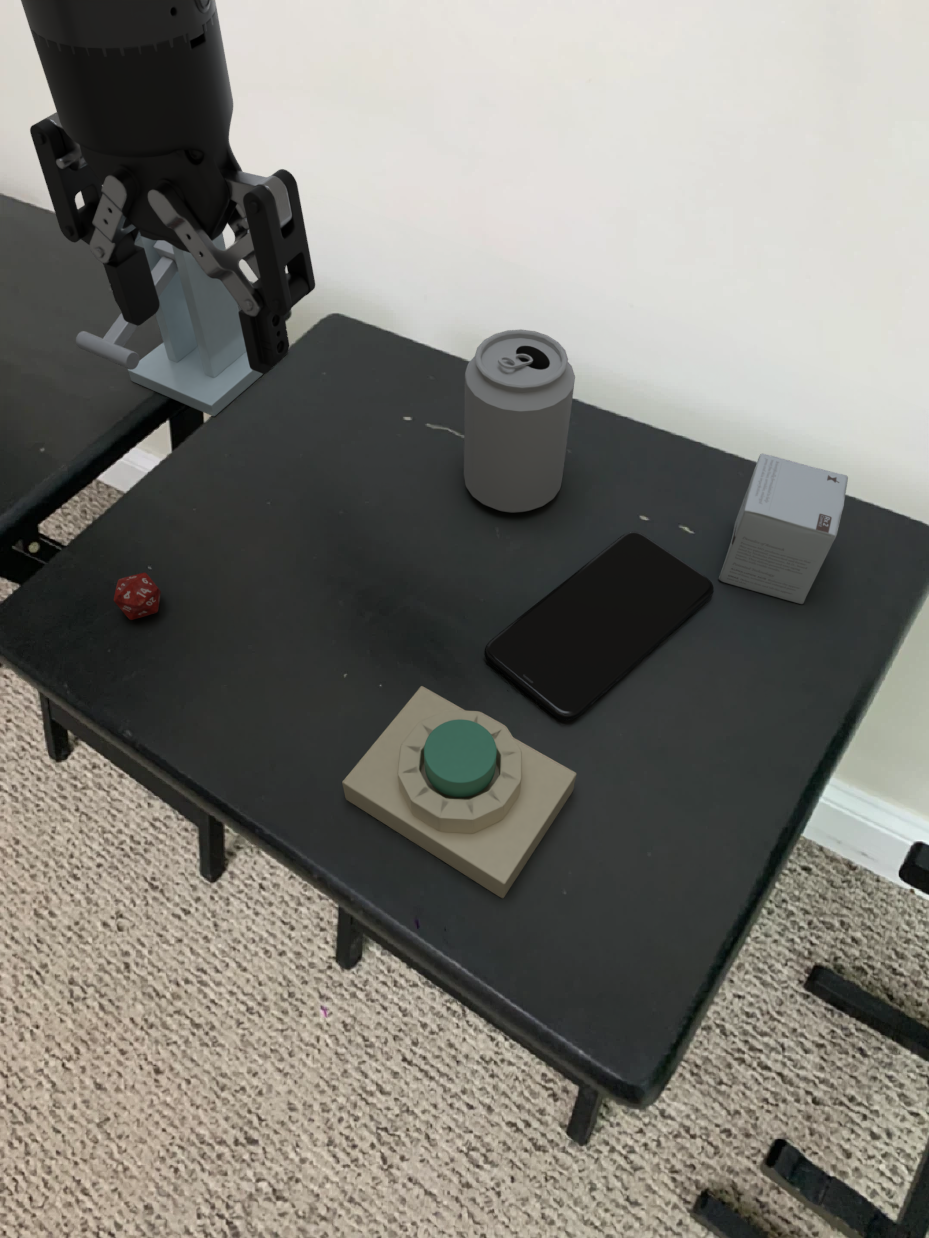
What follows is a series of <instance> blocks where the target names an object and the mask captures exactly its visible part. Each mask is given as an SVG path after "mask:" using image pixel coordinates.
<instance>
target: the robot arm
mask: <svg viewBox="0 0 929 1238" xmlns="http://www.w3.org/2000/svg"><path fill="white" fill-rule="evenodd" d="M20 2H21V5H22V8H23V12H24V14H25V18H26V21H27V25H28V28H29V30H30V33H31V37H32V40H33V42H34V46H35V49H36V52H37V55H38V57H39V61H40V63H41V67H42V71H43V73H44V76H45V79H46V82H47V85H48V89H49V92H50V96H51V98H52V101H53V104H54V105H53V106H54V107H55V108H54V109H55V110H56V111H55V112H54V113H52V114H50V115H49V116H47V117H45V118H43V119H41V120H40V121H37V122H36V123H34V124H32V125H31V126H30V128H29V132H30V137H31V139H32V144H33V146H34V150H35V152H36V156H37V159H38V162H39V165H40V169H41V171H42V175H43V178H44V181H45V184H46V188H47V192H48V194H49V197H50V201H51V204H52V207H53V211H54V214H55V217H56V220H57V223H58V226H59V229H60V232H61V234H62V235H63V236H64V237H65V238H66V239H67V240H68V241H70V242H71V243H78V242H79V241H80V240H81V241H82V242H84V243H85V244H87V245H89V250H90V252H91V254H92V255H93V257H94V258H95V259H96V260H97V261H98V262H99V263H102V265H103V268H104V271H105V273H106V277H107V280H108V283H109V287H110V289H111V291H112V295H113V299H114V301H115V303H116V304H117V306H118V308H119V309H120V312H121V313H122V315H123V318H124V320H125V321H126V322H129V323H131V324H134V325H137V326H138V327H139V326H141V325H143V324H144V323H146V322H147V320H149V319H150V318H152V317H153V316H154V315H155V313H156V312H157V311H158V309H159V306H160V302H159V298H158V295H157V291H156V288H155V284H154V281H153V277H152V274H151V270H150V267H149V263H148V260H147V256H146V253H145V249H144V248H143V247H140V246H137V245H135V243H136V242H137V241H139V239H140V237H141V236H142V237H145V238H148V239H151V240H163V241H166V242H168V243H170V244H171V245H173V246H174V247H176V248H178V249H180V250H183V251H186V252H189V253H191V254H192V256H193V257H194V258H195V260H196V261H197V263H198V264H199V265H200V267H201V268H202V269H203V271H204V272H205V273H206V275H207V276H209V277H210V278H213V279H219V280H221V281H222V283H223V284H224V286H225V287H226V288H227V290H228V291H229V292H230V294H231V295H232V297H233V298H234V299H235V301H236V302H237V304H238V307H239V308H240V310H239V312H238V314H239V318H240V323H241V328H242V333H243V338H244V342H245V347H246V352H247V357H248V362H249V366H250V368H251V369H252V370H254V371H257V372H260V373H262V374H263V375H265V374H267V373H269V371H270V370H272V369H273V368H274V367H275V366H276V365H277V364H278V363H280V361H281V360H282V359H283V358H284V357H285V356H286V355H287V354H288V353H289V348H290V340H289V336H288V335H289V333H288V330H287V329H288V328H287V323H286V317H285V315H287V314H288V313H289V312H290V311H291V310H292V309H293V307H294V306H296V305H297V304H298V303H299V302H300V301H301V300H302V299H303V298H305V297H306V296H308V295H309V294H310V293H312V292H313V291H314V290H315V288H316V280H315V274H314V269H313V263H312V257H311V253H310V246H309V241H308V235H307V230H306V224H305V219H304V215H303V214H304V213H303V208H302V203H301V198H300V192H299V185H298V183H297V180H296V178H295V177H294V175H293V174H292V172H290V171H288V170H287V169H283V168H280V169H278V170H276V171H274V173H272V174H271V175H268V176H262V175H258V174H253V173H249V172H245V171H243V169H242V167H241V165H240V164H239V162H238V160H237V158H236V156H235V154H234V152H233V150H232V147H231V144H230V129H231V125H232V123H231V122H232V118H233V113H234V99H233V91H232V86H231V81H230V75H229V69H228V65H227V58H226V52H225V47H224V42H223V41H224V40H223V35H222V30H221V25H220V18H219V13H218V8H217V2H216V0H20ZM79 193H81V198H82V202H83V205H82V206H81V207H79V208H78V205H77V202H76V197H77V195H78V194H79ZM227 225H228V227H229V228H230V229H231V231H232V232H233V235H234V241H233V242H232V243H231V244H230V245H229V246H228V247H226V250H224V251H223V250H220V249H218V248H217V247H216V246H215V245H214V244H213V242H212V241H213V240H214V239H215V238H217V237H218V236H219V235H221V233H222V232H224V231H225V229H226V228H227ZM241 261H244V262H245V263H246V264H247V265H248V267H249V269H250V270H251V271H252V273H253V275H254V276H255V277H256V278H257V279H256V280H255V281H254V282H253V283H251V281H250V280H249V279H248V277H247V275H245V273H244V271H243V269H241V266H240V262H241ZM286 270H287V272H286ZM285 354H286V355H285ZM284 355H285V356H284Z"/></svg>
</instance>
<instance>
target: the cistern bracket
mask: <svg viewBox="0 0 929 1238" xmlns="http://www.w3.org/2000/svg"><path fill="white" fill-rule="evenodd" d="M223 232H224V231H223ZM223 232H222V233H221V235H219V236H218V237H217V238H215V239H214V240H213V241H212V242H213V244H214V245H215V246H216V247H217V248H218V249H220V250H223V251H224V250H226V249H227V247H226V243H225V242H226V241H225V238H224V233H223ZM157 241H158V240H151V239H148V238H145V237H142V236H141V237H140V239H139V241H137V242H136V243H135V245H137V246H140V247H143V248H144V249H145V253H146V256H147V260H148V263H149V267H150V270H151V271H152V270H153V269H154V267H155V266H156V265H157V263H158V262H159V260H160V259H161V258H160V256H159V255H158V253H157V252H156V250H155V249H154V247H153V246H154V245H155V243H156V242H157ZM172 248H173V252H174V256H175V260H176V264H177V267H178V271H179V272H176V274H175V275H174V276H173V278H172V279H171V281H170V282H169V283H168V285H167V286H166V288H165V289H164V290H163V292H162V293H161V295H160V296H159V297H158V298H159V302H160V306H159V309H158V311H157V312H156V313H155V314H154V315H155V318H156V322H157V325H158V329H159V332H160V335H161V339H162V342H161V343H160V344H159V345H158V346H156V347H154V349H152V350H151V351H149V352H148V354H146V355H145V356H143V357H142V358H141V359H139V363H138V365H137V367H136V368H135V369H132V370H130V369H128V368H127V372H128V375H129V379H130V382H132V383H135V384H137V385H139V386H142V387H144V388H147V389H149V390H151V391H153V392H156V393H159V394H160V395H163V396H165V397H167V398H170V399H172V400H174V401H177V402H179V403H181V404H182V405H183V404H184V405H186V406H188V407H190V408H193V409H195V410H197V411H199V412H201V413H204V414H207V415H209V416H211V417H216V416H217V415H218V414H219V413H220V412H221V411H223V410H224V409H226V407H227V406H228V405H230V404H231V403H232V402H234V401H235V399H236V398H238V397H239V396H240V395H241V394H242V393H243V392H245V391H246V390H247V389H248V388H249V387H250V386H251V385H253V384H254V383H255V382H257V380H258V379H260V378H261V377H262V376H263V375H264V374H262V373H260V372H257V371H254V370H252V369H251V368H250V366H249V362H248V357H247V352H246V347H245V342H244V338H243V333H242V328H241V323H240V318H239V314H238V312H239V311H240V310H239V305H238V303H237V302H236V301H235V299H234V298H233V297H232V295H231V294H230V292H229V291H228V290H227V288H226V287H225V286H224V284H223V283H222V281H221V280H219V279H213V278H210V277H209V276H207V275H206V273H205V272H204V271H203V269H202V268H201V267H200V265H199V264H198V263H197V261H196V260H195V258H194V257H193V256H192V254H191V253H189V252H186V251H183V250H180V249H178V248H176V247H174V246H173V245H172ZM286 355H287V354H285V355H284V356H283V357H285V356H286Z"/></svg>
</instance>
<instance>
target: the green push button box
mask: <svg viewBox="0 0 929 1238" xmlns="http://www.w3.org/2000/svg"><path fill="white" fill-rule="evenodd" d="M457 719H463V720H469V721H473V722H476V723H478V724H480V725H481V726H483V727H484V728H485V729H487V730H488V731H489V733H490V734H491V735H492V737H493V739H494V741H495V744H496V748H497V756H496V768H495V774H494V776H493V779H492V780H491V782H490V783H489V785H488V786H487V787H486V788H485V789H483V790H482V791H481V792H479V793H477V794H475V795H472V796H468V797H453V796H449V795H446V794H444V793H442V792H440V791H438V790H437V789H436V788H435V787H434V786H433V785H432V784H431V783H430V781H429V780H428V778H427V776H426V772H425V764H424V746H425V742H426V740H427V738H428V736H429V735H430V733H431V732H432V731H433V730H434V729H435V728H436V727H438V726H439V725H441V724H443V723H445V722H447V721H451V720H457ZM576 779H577V772H575V771H574V770H572V769H571V768H568V767H567V766H565V765H563V764H561V763H559V762H558V761H556V760H554V759H552V758H550V757H549V756H547V755H545V754H544V753H541V752H540V751H538V750H536V749H534V748H533V747H531V746H529V745H528V744H526V743H524V742H522V741H520V740H519V739H517V738H515V737H513V735H512V733H511V731H510V729H508V727H507V726H506V725H505V724H503V723H502V722H500V721H498V720H496V719H494V718H492V717H490V716H489V715H487V714H485V713H483V711H478V710H466V709H464V708H462V707H460V706H458V705H457V704H454V703H453V702H451V701H449V700H447V698H445V697H442V696H441V695H439V694H437V693H435V692H434V691H432V690H431V689H428V688H427V687H424V686H423V685H421V686H420V687H419V688H418V689H417V690H416V691H415V693H414V694H413V695H412V696H411V697H410V699H409V700H408V701H407V702H406V704H405V705H404V706H403V707H402V709H401V710H400V711H399V712H398V714H396V716H395V717H394V718H393V720H392V721H391V722H390V723H389V725H387V727H385V729H384V731H382V733H381V734H380V735H379V737H377V739H376V740H375V741H374V743H373V744H372V745H371V746H370V747H369V749H368V750H367V751H366V752H365V754H364V755H363V756H362V757H361V759H359V761H358V762H357V763H356V764H355V766H354V767H353V768H352V769H351V770H350V772H349V773H348V775H346V777H345V778H344V779H343V780H342V789H343V792H344V798H345V800H346V801H347V802H349V803H350V804H352V805H354V806H356V808H359V809H361V811H363V812H365V813H366V814H368V815H370V816H371V817H373V818H374V819H376V820H378V821H379V822H381V823H382V824H383V825H385V826H387V827H388V828H390V829H392V830H393V831H395V832H396V833H398V834H400V835H401V836H403V837H404V838H405V839H408V840H409V841H410V842H412V843H414V844H415V845H416V846H419V847H420V848H421V849H423V850H425V851H426V852H428V853H430V854H431V855H432V856H434V857H436V858H437V859H439V860H440V861H442V862H444V863H445V864H447V865H448V866H450V867H452V868H453V869H455V870H456V871H458V872H459V873H461V874H462V875H464V876H466V877H467V878H469V879H471V880H472V881H473V882H475V883H477V884H478V885H480V886H481V887H483V888H485V889H487V890H488V892H489V891H490V892H491V893H492V894H494V895H496V896H497V897H499V898H500V899H504V898H505V897H506V895H507V893H508V892H509V891H510V889H511V887H512V886H513V884H514V883H515V881H516V880H517V879H518V877H519V875H520V874H521V872H522V870H523V869H524V868H525V866H526V864H527V863H528V861H529V860H530V859H531V857H532V855H533V853H534V852H535V851H536V849H537V848H538V846H539V844H540V843H541V842H542V840H543V838H544V836H545V835H546V833H547V832H548V830H549V829H550V827H551V826H552V824H553V823H554V821H555V819H556V818H557V816H558V815H559V813H560V812H561V810H562V808H563V807H564V806H565V804H566V803H567V802H568V800H569V798H570V797H571V795H572V794H573V792H574V788H575V784H576Z"/></svg>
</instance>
